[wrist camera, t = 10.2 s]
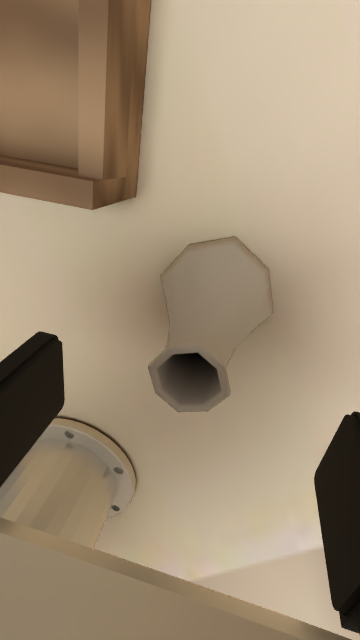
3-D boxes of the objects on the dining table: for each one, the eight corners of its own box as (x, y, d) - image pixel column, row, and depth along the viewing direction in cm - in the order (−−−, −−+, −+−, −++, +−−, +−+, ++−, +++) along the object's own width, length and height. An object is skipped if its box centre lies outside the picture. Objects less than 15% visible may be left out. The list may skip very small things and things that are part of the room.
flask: (143, 268, 22) (68, 340, 13) (242, 214, 19) (229, 259, 11) (196, 354, 24) (160, 465, 15) (292, 316, 21) (315, 425, 13)
